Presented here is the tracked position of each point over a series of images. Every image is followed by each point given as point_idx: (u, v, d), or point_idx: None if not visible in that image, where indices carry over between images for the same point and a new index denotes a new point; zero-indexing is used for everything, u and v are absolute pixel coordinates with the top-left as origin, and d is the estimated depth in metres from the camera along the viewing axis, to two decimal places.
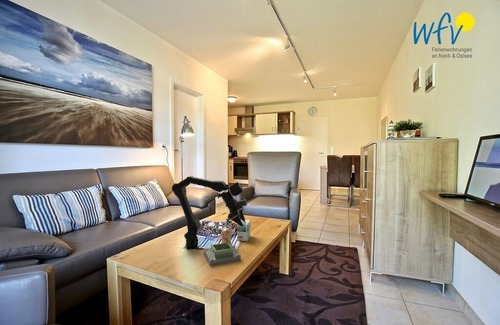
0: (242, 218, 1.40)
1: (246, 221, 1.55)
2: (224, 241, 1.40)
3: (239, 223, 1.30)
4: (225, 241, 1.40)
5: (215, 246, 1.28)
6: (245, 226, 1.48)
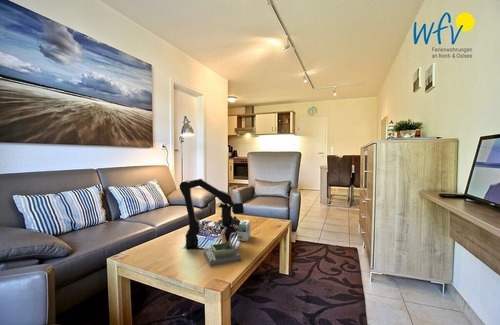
0: None
1: (246, 221, 1.55)
2: (224, 241, 1.40)
3: (227, 238, 1.39)
4: (225, 241, 1.40)
5: (215, 246, 1.28)
6: (245, 226, 1.48)
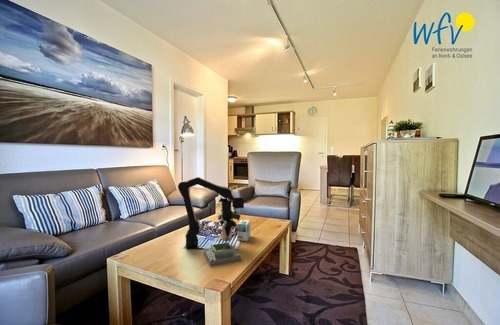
0: None
1: (246, 221, 1.55)
2: (224, 235, 1.40)
3: (227, 232, 1.38)
4: (225, 235, 1.39)
5: (215, 246, 1.28)
6: (245, 226, 1.48)
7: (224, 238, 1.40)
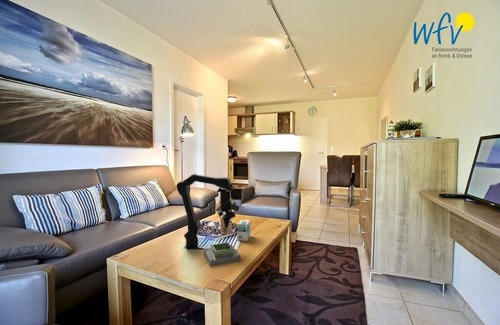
0: None
1: (246, 221, 1.55)
2: (223, 227, 1.34)
3: (226, 224, 1.33)
4: (224, 227, 1.34)
5: (215, 246, 1.28)
6: (245, 226, 1.48)
7: (223, 230, 1.34)
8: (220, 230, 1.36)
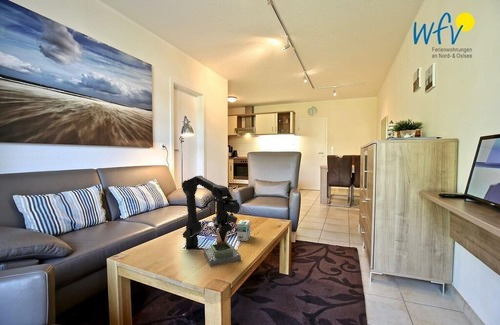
0: None
1: (246, 221, 1.55)
2: (219, 241, 1.23)
3: (222, 237, 1.22)
4: (220, 241, 1.23)
5: (215, 246, 1.28)
6: (245, 226, 1.48)
7: (219, 244, 1.23)
8: None
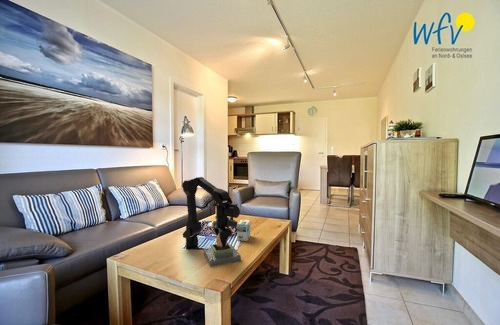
0: None
1: (246, 221, 1.55)
2: (219, 248, 1.23)
3: (223, 243, 1.20)
4: (220, 248, 1.23)
5: (215, 246, 1.28)
6: (245, 226, 1.48)
7: None
8: None
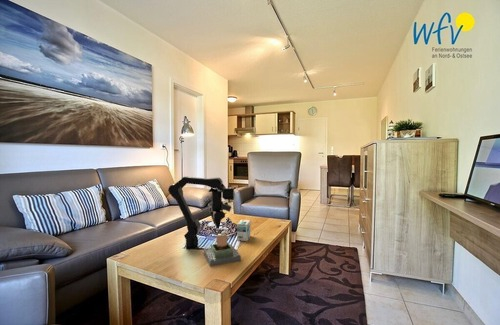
0: None
1: (246, 221, 1.55)
2: (219, 248, 1.23)
3: (217, 224, 1.33)
4: (220, 248, 1.23)
5: (215, 246, 1.28)
6: (245, 226, 1.48)
7: None
8: None
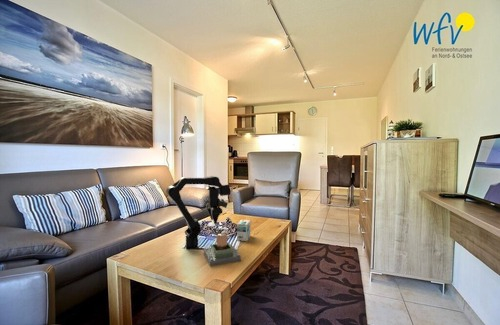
0: (211, 216, 1.50)
1: (246, 221, 1.55)
2: (219, 248, 1.23)
3: (214, 220, 1.41)
4: (220, 248, 1.23)
5: (215, 246, 1.28)
6: (245, 226, 1.48)
7: None
8: None
